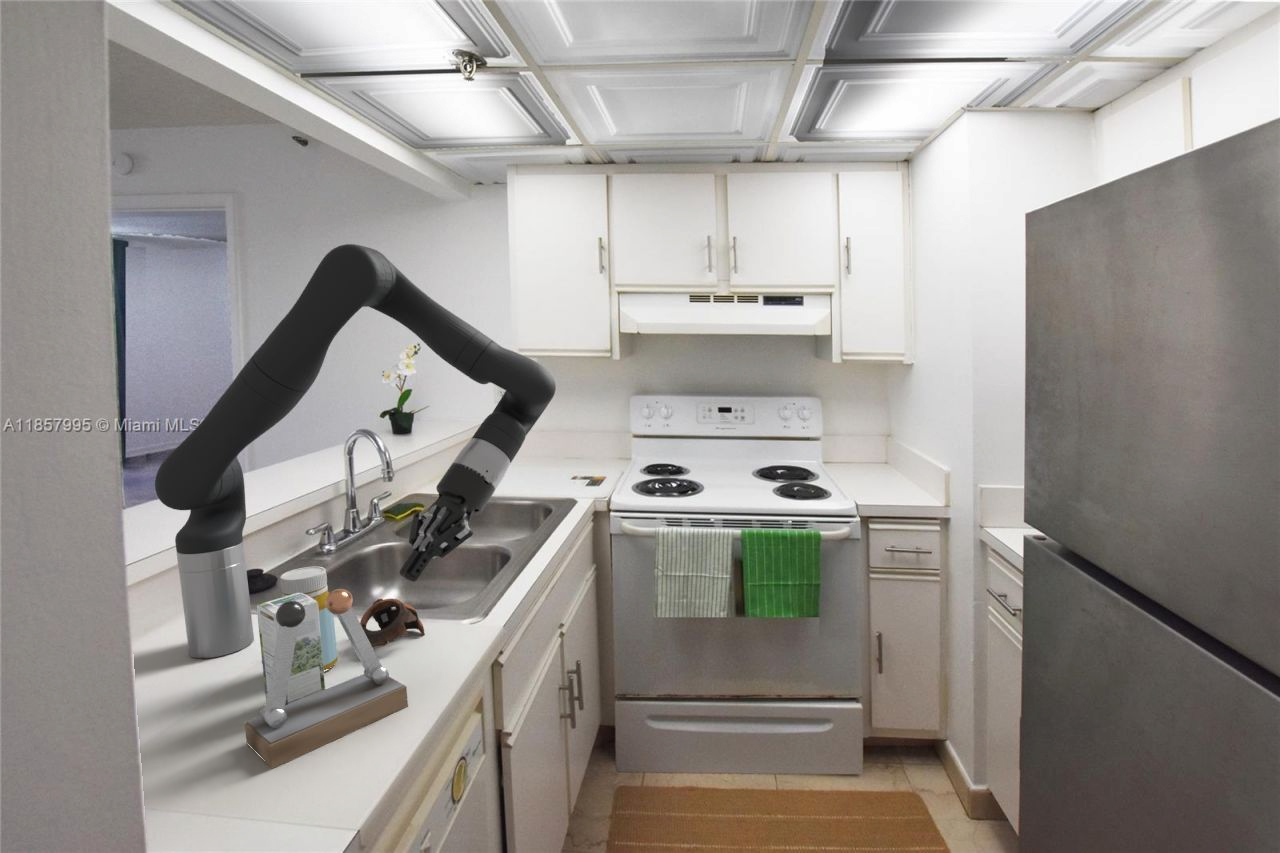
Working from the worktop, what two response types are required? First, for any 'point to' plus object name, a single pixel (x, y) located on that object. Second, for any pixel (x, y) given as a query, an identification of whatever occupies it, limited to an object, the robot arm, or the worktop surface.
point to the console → (325, 718)
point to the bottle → (315, 587)
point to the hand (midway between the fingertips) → (406, 577)
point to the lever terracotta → (356, 634)
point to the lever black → (282, 662)
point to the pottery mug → (390, 621)
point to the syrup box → (307, 647)
